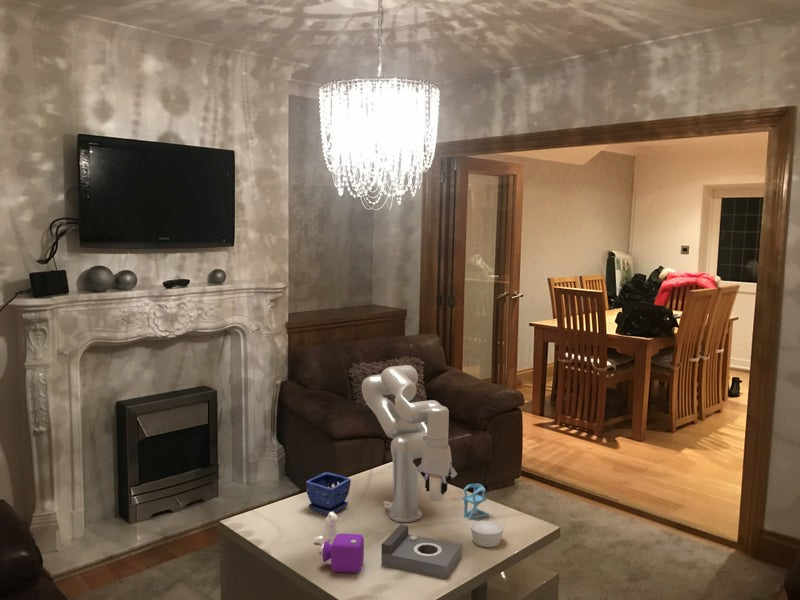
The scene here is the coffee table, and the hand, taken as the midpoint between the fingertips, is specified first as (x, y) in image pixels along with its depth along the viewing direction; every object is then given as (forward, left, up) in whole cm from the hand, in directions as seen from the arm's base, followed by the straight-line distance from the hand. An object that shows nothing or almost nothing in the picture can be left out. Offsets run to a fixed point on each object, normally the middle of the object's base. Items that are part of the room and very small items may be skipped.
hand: (436, 491), depth 229 cm
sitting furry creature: (-32, -20, -17) cm, 41 cm away
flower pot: (-47, +7, -17) cm, 50 cm away
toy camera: (-21, -31, -17) cm, 41 cm away
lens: (0, 0, -3) cm, 3 cm away
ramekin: (+17, +5, -17) cm, 25 cm away
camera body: (+1, -17, -17) cm, 24 cm away
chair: (+7, +24, -17) cm, 30 cm away
